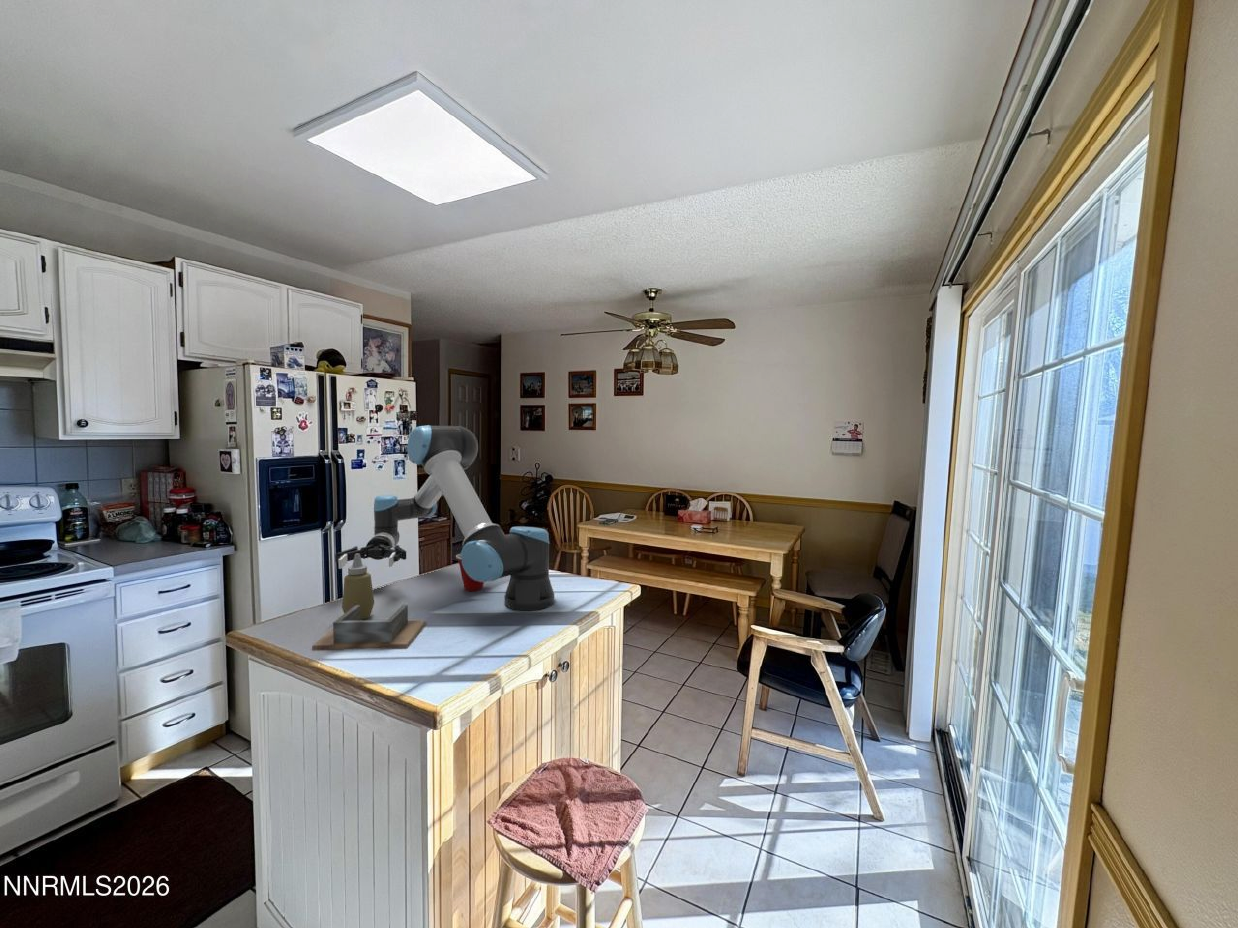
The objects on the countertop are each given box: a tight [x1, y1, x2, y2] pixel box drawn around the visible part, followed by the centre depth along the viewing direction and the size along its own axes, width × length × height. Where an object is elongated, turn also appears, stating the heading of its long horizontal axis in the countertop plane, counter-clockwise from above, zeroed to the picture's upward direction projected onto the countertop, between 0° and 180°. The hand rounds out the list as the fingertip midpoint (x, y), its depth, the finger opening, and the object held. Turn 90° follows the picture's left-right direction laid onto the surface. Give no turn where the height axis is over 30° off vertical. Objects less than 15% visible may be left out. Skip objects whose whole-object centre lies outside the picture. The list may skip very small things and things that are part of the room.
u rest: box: [311, 604, 427, 650], centre depth 129 cm, size 22×15×6 cm
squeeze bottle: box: [341, 553, 375, 620], centre depth 141 cm, size 8×8×18 cm
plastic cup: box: [455, 552, 485, 592], centre depth 168 cm, size 11×11×12 cm
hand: (365, 563), depth 150 cm, fingers open, 13 cm apart
